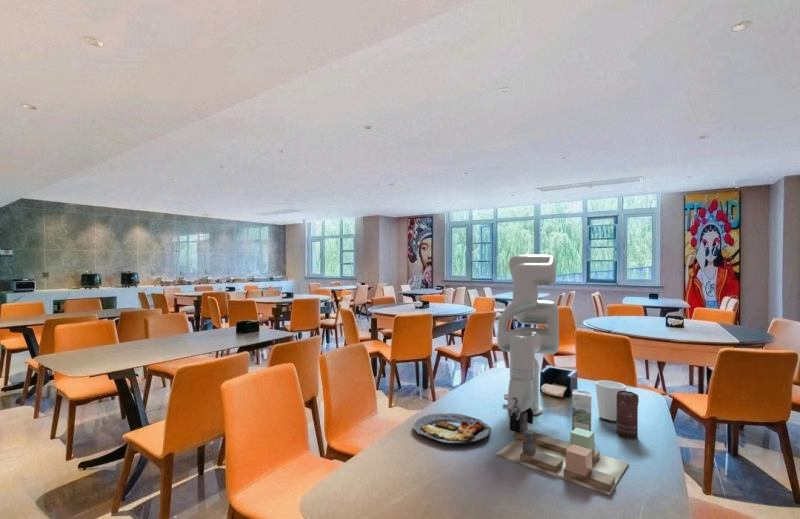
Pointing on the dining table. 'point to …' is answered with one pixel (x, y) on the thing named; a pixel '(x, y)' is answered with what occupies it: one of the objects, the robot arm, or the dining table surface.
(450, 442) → the food plate
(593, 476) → the strip piece
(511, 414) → the robot arm
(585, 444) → the cube
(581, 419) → the syrup box
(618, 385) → the cup
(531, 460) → the strip piece
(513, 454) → the board
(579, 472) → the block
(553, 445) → the strip
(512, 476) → the dining table surface
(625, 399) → the can
